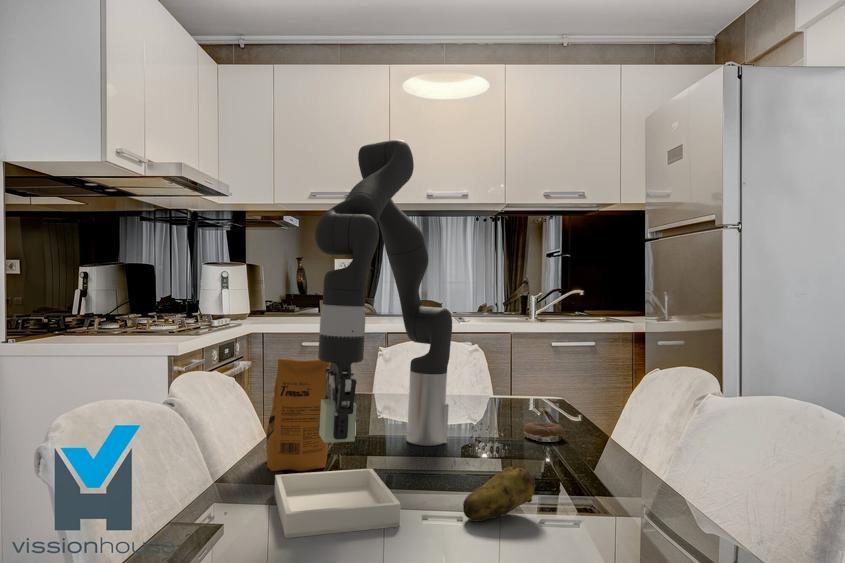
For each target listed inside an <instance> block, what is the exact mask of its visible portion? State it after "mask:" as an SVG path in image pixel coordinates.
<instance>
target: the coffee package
mask: <svg viewBox="0 0 845 563" xmlns="http://www.w3.org/2000/svg"><path fill="white" fill-rule="evenodd" d="M326 368H330V363H329V362H324V361H321V360H319V359H313V360H296V359H290V358H281V357H278V361H277V370H276V371H277V372H276V377H275V384H274V389H273V391H274V395H273V398H272V406H271V407H272V408H271V413H270V415H269V418H268V424H267V430H266V443H265V444H266V446H265V447H266V450H265V452H266V460H267V461H266V466H267V468H268V469H269V471H271V472H278V471H279V472H280V471H284V470H293V471H297V472H303V471H304V472H305V471H312V470H313V471H314V470H318V469H323V468H325V467H326V465H327V460H328V447H329V444H328V443H324V441H323V440H322V438H321V437H320V435H319V429H320V410H321V399H325V386H326V373H325V370H326Z"/></svg>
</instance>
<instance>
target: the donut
mask: <svg viewBox="0 0 845 563" xmlns="http://www.w3.org/2000/svg"><path fill="white" fill-rule="evenodd" d="M523 427H524V428H523V431H522V432H523V434H524V433H525V434H527V435H530V436H534V437H541V438H550V437H551V438H552V437H559V436H562V435H564V433H565V430H564V428H563V427H562V426H561V425H560V424H557V423H554V422H553V423H552V422H530V423H526V424H525V425H524V426H523ZM564 436H565V435H564Z"/></svg>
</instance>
